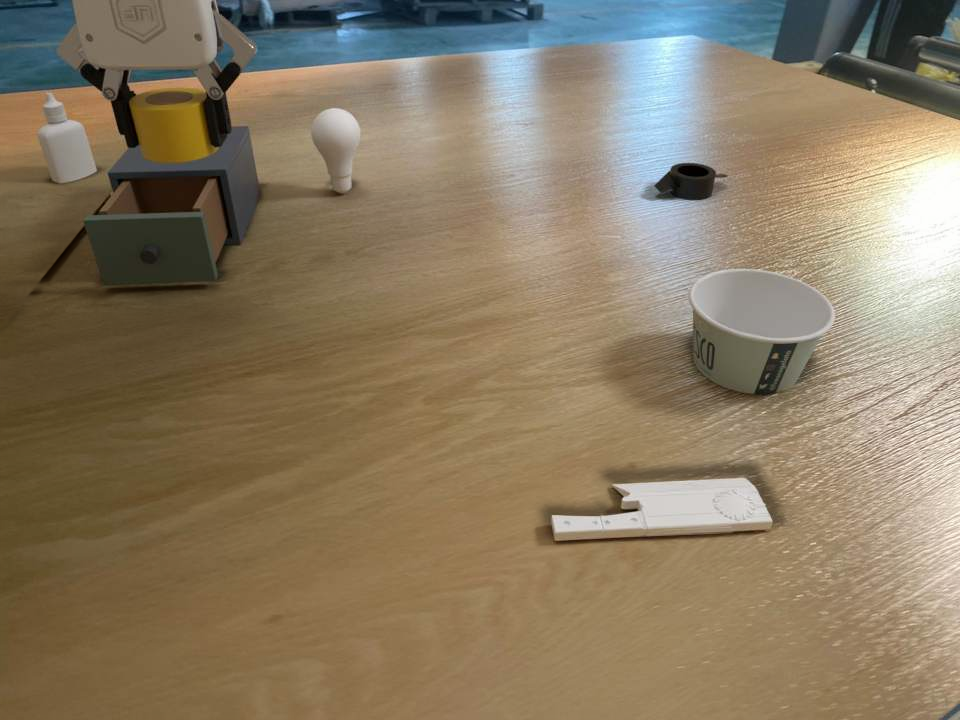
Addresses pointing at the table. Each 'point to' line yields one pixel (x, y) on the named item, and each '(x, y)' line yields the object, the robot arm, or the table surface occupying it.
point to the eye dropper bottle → (64, 144)
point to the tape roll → (172, 125)
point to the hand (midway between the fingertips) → (178, 140)
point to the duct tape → (689, 181)
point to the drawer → (160, 231)
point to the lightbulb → (337, 144)
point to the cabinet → (226, 162)
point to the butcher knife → (673, 511)
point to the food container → (756, 328)
